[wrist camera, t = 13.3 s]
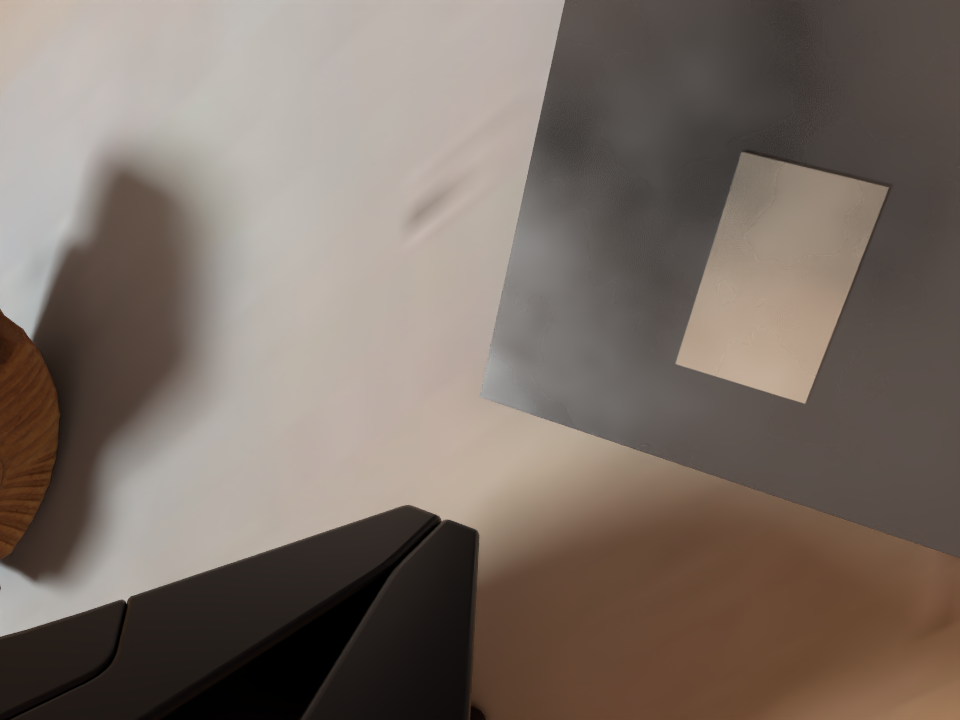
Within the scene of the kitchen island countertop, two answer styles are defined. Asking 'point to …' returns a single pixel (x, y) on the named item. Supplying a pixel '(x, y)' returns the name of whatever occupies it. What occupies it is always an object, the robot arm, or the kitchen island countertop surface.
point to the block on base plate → (751, 249)
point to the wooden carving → (24, 432)
